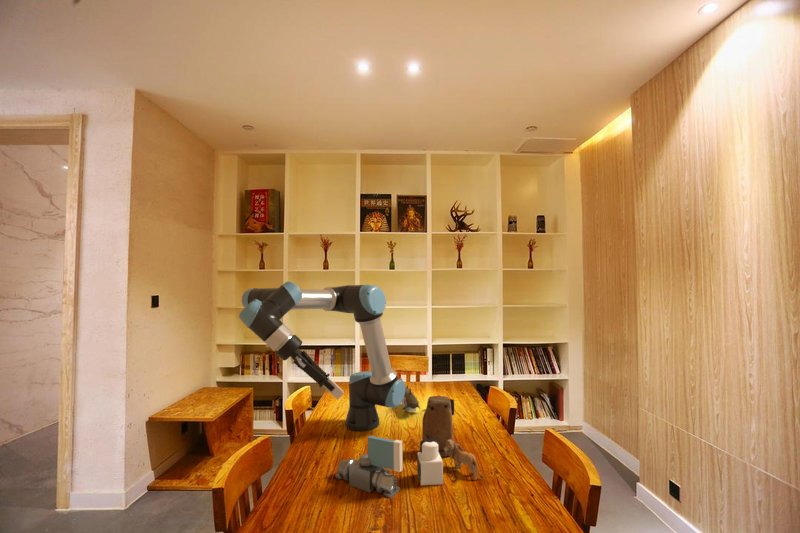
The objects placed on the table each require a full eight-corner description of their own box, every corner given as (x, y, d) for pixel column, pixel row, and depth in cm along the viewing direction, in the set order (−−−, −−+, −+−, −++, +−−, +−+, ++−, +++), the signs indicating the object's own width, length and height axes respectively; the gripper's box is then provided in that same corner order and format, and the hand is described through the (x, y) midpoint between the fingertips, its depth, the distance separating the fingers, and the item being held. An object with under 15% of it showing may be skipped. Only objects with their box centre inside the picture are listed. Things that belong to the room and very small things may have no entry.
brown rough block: (450, 448, 139) (449, 394, 140) (454, 457, 131) (453, 400, 132) (421, 449, 138) (421, 395, 139) (424, 458, 131) (423, 401, 132)
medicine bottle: (417, 474, 120) (416, 436, 120) (438, 473, 120) (438, 435, 121) (420, 486, 113) (419, 446, 113) (443, 484, 113) (442, 444, 114)
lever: (356, 464, 114) (356, 436, 114) (364, 458, 118) (364, 431, 118) (397, 474, 107) (397, 444, 108) (404, 468, 111) (404, 439, 112)
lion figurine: (441, 468, 124) (441, 440, 125) (450, 462, 128) (450, 435, 128) (479, 483, 114) (479, 453, 115) (488, 476, 118) (487, 448, 118)
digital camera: (456, 414, 177) (456, 399, 177) (448, 416, 173) (448, 401, 174) (440, 409, 185) (440, 394, 185) (433, 411, 181) (432, 396, 182)
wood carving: (408, 397, 205) (408, 377, 205) (425, 419, 170) (424, 394, 171) (393, 398, 203) (392, 378, 204) (406, 420, 169) (406, 395, 169)
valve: (333, 481, 117) (333, 459, 118) (347, 472, 123) (347, 451, 123) (388, 502, 105) (388, 478, 106) (401, 490, 111) (401, 468, 112)
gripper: (277, 348, 116) (331, 398, 118) (272, 356, 103) (332, 412, 105) (295, 331, 117) (347, 380, 120) (291, 336, 104) (351, 392, 106)
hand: (340, 395), depth 112 cm, fingers closed
